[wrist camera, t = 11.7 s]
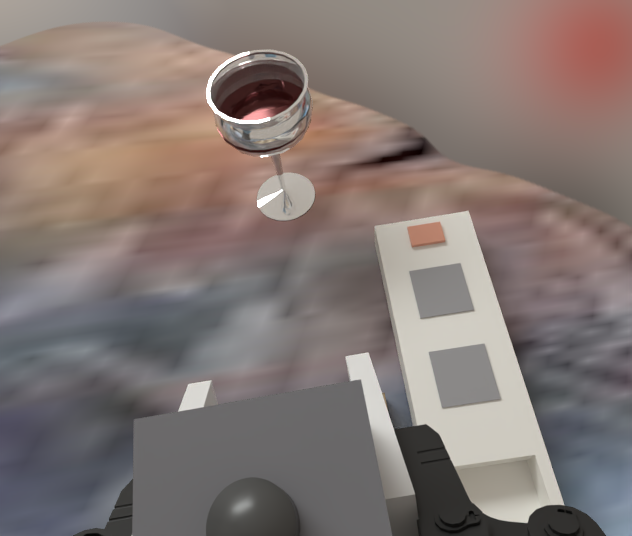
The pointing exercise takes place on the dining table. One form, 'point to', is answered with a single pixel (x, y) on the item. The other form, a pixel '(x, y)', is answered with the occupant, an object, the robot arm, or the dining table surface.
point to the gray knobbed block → (261, 468)
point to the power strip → (463, 364)
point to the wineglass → (266, 121)
